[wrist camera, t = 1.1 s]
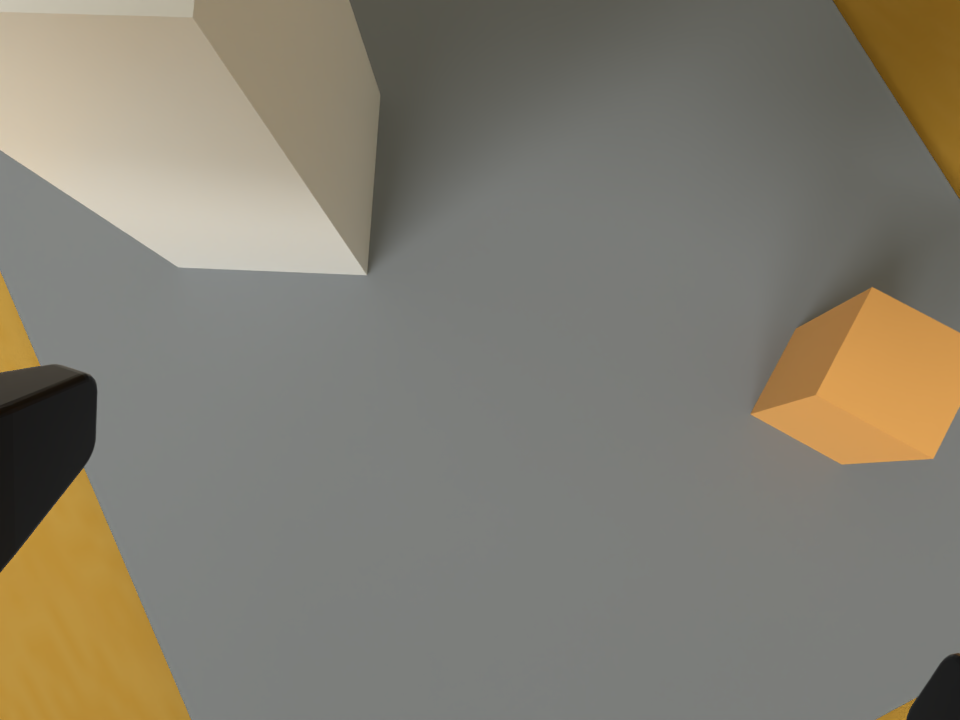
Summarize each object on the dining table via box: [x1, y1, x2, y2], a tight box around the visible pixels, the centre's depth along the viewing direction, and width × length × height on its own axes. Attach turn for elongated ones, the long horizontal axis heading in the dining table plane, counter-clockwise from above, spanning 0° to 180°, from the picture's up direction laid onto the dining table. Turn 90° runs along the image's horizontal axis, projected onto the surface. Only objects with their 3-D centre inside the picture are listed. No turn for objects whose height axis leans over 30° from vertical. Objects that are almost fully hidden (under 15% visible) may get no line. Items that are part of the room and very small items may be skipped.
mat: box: [0, 0, 960, 720], centre depth 22 cm, size 24×24×1 cm
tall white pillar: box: [0, 0, 380, 275], centre depth 17 cm, size 5×5×12 cm
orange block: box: [751, 287, 960, 465], centre depth 19 cm, size 3×3×5 cm
